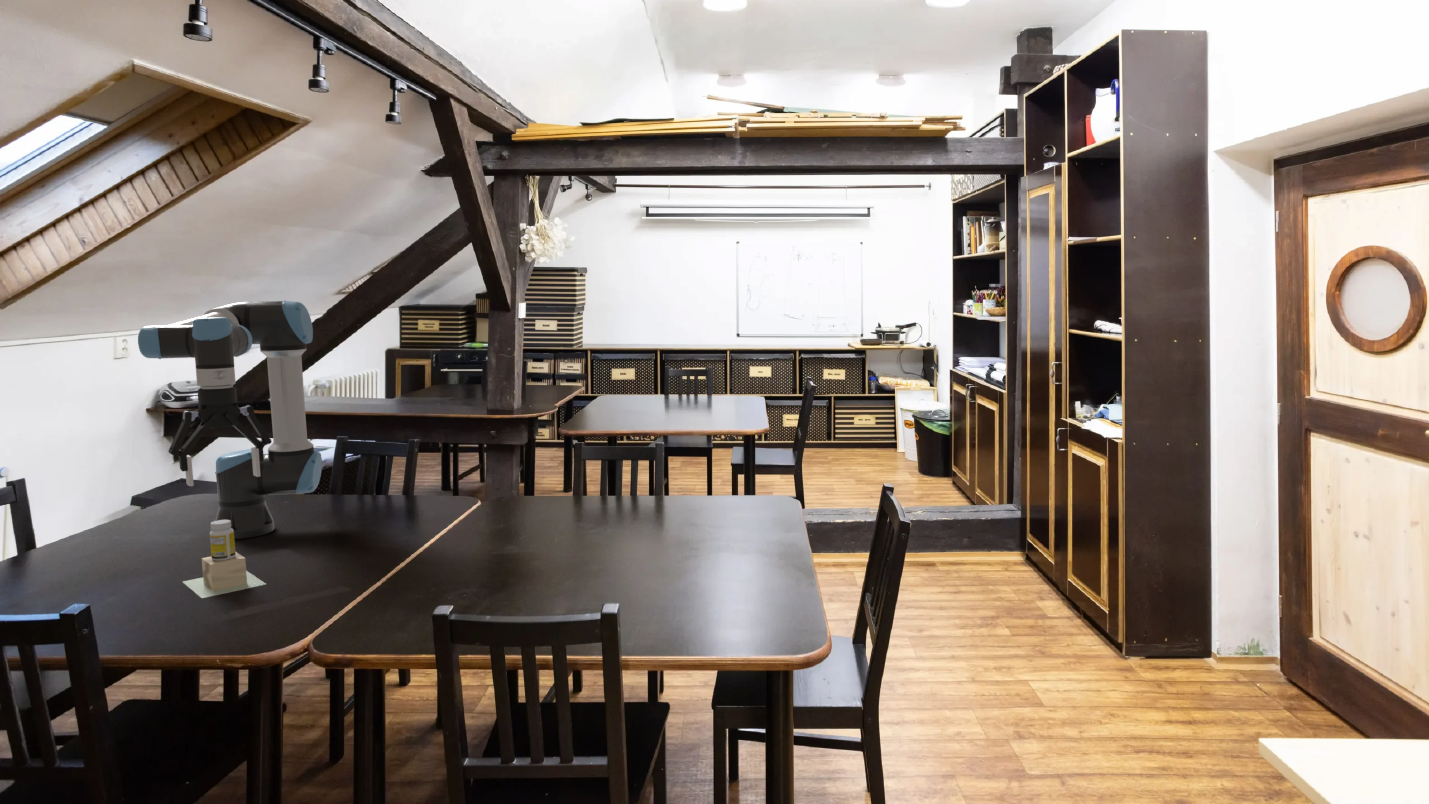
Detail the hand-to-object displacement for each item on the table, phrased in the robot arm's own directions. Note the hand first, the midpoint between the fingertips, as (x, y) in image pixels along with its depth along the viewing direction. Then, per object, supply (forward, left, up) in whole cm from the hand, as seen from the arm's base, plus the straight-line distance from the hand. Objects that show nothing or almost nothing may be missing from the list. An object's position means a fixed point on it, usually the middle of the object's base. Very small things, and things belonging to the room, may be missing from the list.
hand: (224, 480), depth 196 cm
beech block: (+1, -2, -23) cm, 23 cm away
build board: (0, -2, -25) cm, 25 cm away
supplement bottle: (+1, -2, -18) cm, 18 cm away
